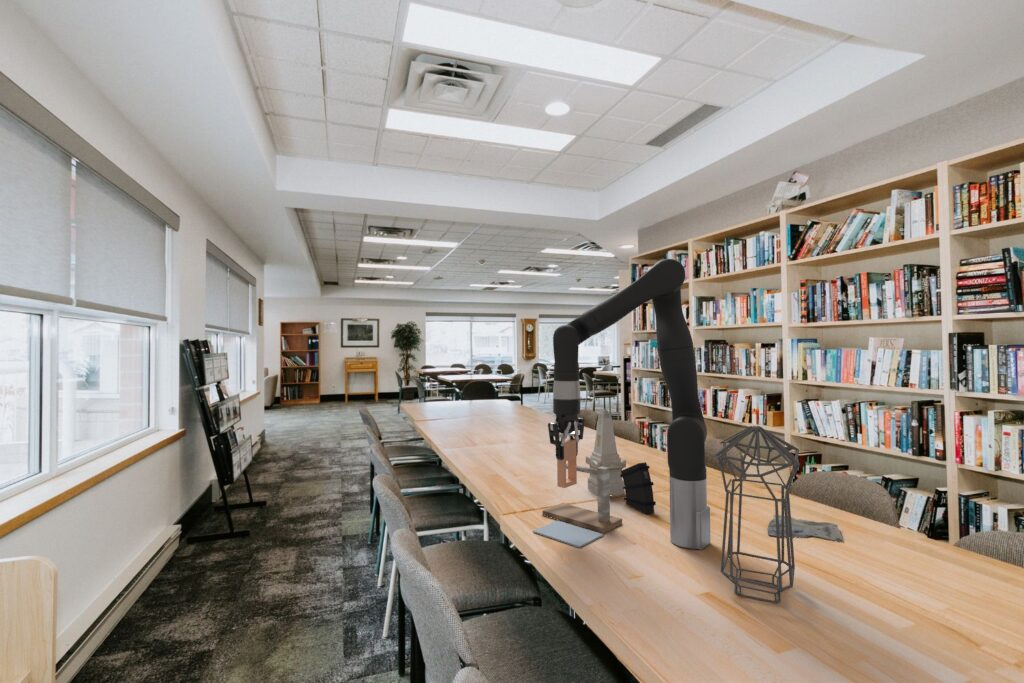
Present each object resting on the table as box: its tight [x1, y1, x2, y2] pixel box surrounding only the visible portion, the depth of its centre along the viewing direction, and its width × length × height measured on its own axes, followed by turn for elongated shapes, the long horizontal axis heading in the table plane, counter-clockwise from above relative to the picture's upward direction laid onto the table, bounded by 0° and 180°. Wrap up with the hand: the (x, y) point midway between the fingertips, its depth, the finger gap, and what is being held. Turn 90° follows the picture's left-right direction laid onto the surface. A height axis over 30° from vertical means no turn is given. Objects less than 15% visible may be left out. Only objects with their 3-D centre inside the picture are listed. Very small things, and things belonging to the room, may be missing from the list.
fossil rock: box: [766, 514, 844, 543], centre depth 135 cm, size 18×15×2 cm
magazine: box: [620, 461, 657, 515], centre depth 156 cm, size 4×13×15 cm, turn 23°
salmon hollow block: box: [556, 438, 578, 489], centre depth 135 cm, size 2×6×12 cm, turn 136°
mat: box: [532, 520, 604, 549], centre depth 135 cm, size 16×11×1 cm
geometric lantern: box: [712, 425, 801, 604], centre depth 102 cm, size 16×16×35 cm
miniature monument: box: [585, 407, 627, 496], centre depth 174 cm, size 10×10×30 cm
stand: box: [541, 463, 623, 534], centre depth 146 cm, size 22×10×17 cm, turn 46°
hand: (567, 457), depth 135 cm, fingers closed on salmon hollow block, 5 cm apart
